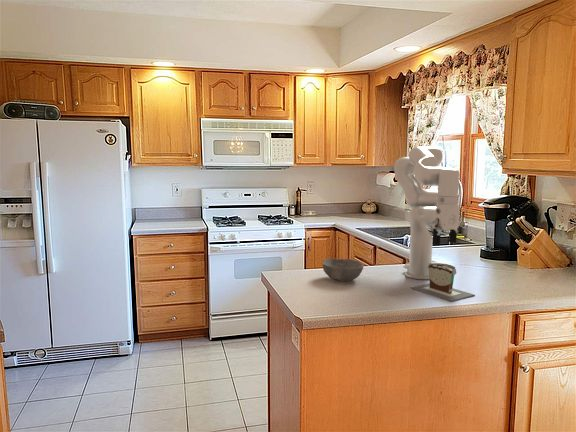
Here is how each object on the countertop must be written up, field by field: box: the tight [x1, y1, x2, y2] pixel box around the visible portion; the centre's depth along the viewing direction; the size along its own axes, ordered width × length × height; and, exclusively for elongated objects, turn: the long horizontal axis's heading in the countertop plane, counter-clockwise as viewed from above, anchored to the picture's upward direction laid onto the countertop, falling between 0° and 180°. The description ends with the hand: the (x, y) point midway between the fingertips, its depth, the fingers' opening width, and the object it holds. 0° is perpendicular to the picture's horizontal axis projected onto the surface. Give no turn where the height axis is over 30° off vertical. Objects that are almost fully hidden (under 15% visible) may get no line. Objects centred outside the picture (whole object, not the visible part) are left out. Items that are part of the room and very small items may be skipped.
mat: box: [410, 282, 475, 303], centre depth 185 cm, size 20×14×1 cm
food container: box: [428, 262, 457, 294], centre depth 185 cm, size 12×6×10 cm, turn 34°
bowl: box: [322, 258, 365, 282], centre depth 200 cm, size 18×18×8 cm
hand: (444, 243), depth 182 cm, fingers open, 9 cm apart
